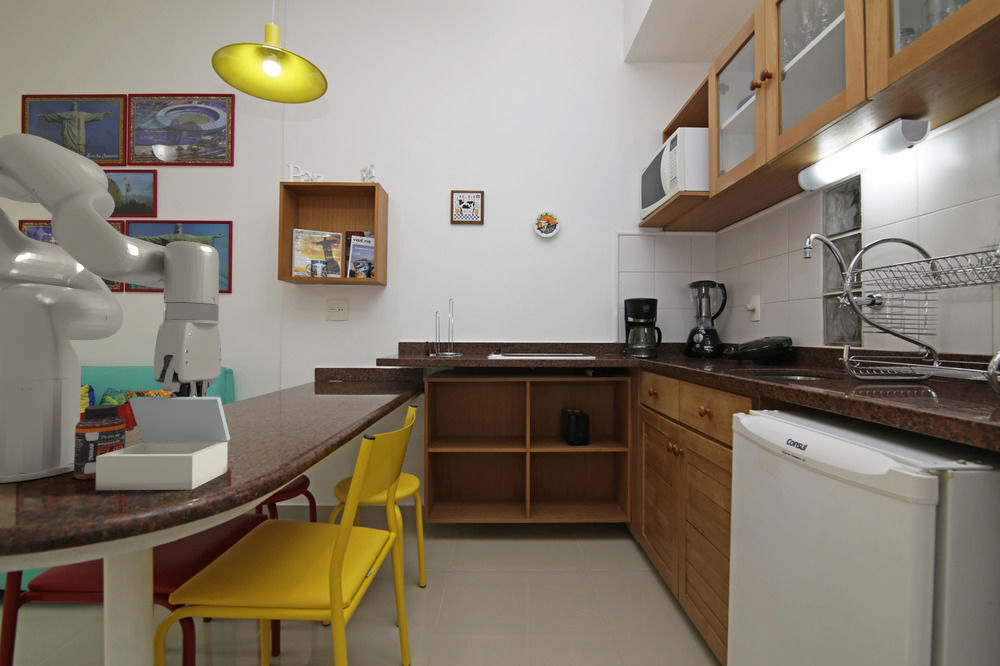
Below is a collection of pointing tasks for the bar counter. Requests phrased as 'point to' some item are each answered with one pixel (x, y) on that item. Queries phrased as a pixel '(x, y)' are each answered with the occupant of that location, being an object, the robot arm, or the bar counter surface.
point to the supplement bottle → (97, 438)
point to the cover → (180, 419)
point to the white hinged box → (161, 466)
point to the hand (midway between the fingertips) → (191, 422)
